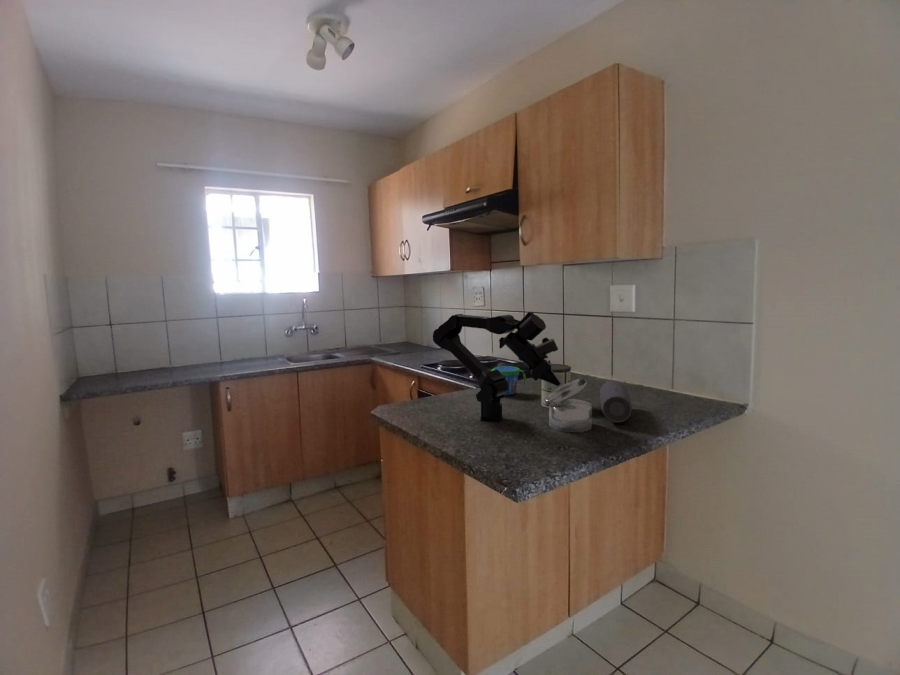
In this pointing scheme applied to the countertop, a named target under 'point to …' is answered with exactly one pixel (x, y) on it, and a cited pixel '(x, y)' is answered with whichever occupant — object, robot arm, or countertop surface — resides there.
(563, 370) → the coffee can
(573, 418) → the grey round canister
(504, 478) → the countertop surface
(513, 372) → the snack cup
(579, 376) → the cooker lid
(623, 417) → the bluetooth speaker
